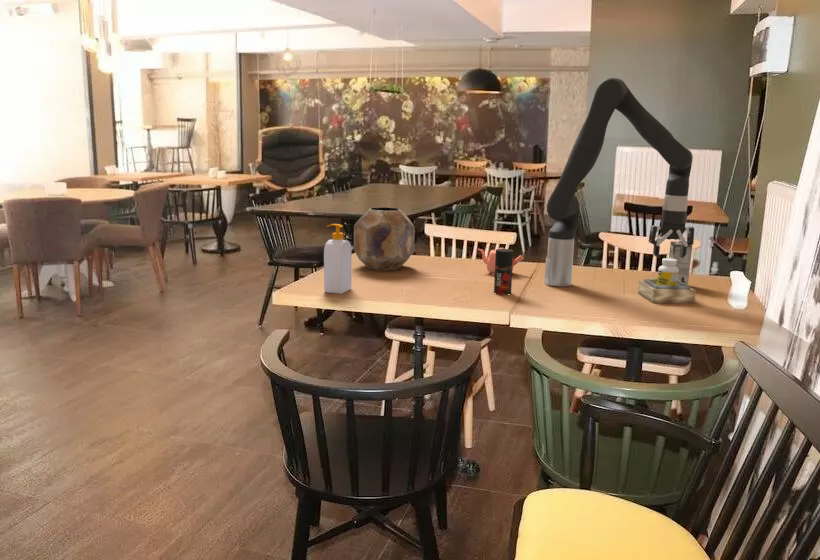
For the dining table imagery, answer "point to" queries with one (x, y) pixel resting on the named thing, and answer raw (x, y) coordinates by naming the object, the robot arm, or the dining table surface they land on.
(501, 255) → the deodorant
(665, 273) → the pill bottle
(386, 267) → the planter
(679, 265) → the coffee box
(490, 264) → the teapot
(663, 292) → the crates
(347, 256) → the soap bottle
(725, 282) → the dining table surface
